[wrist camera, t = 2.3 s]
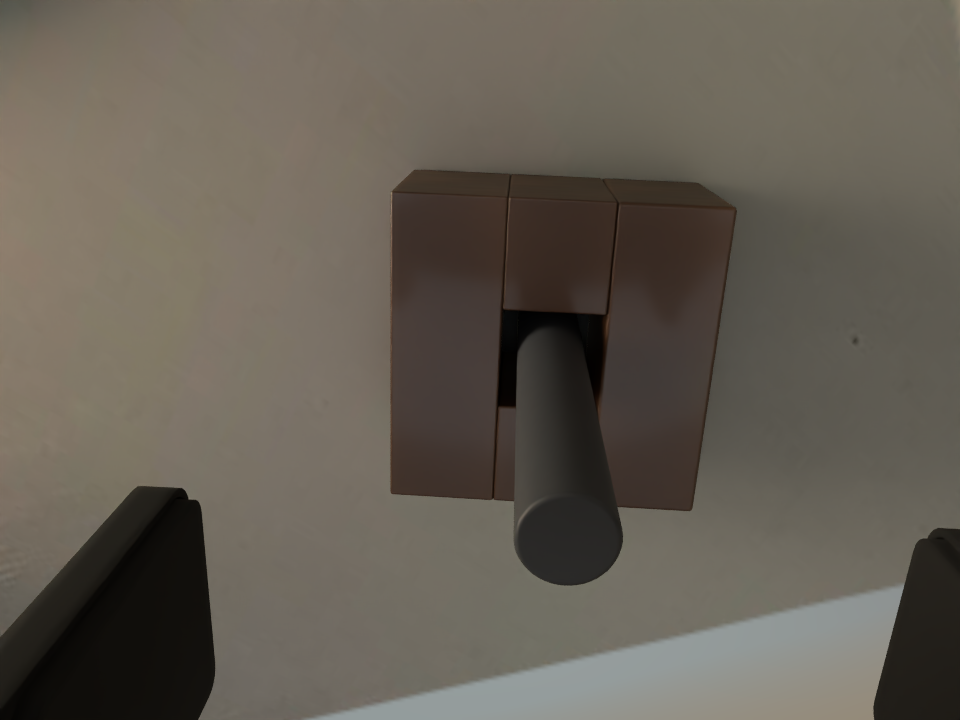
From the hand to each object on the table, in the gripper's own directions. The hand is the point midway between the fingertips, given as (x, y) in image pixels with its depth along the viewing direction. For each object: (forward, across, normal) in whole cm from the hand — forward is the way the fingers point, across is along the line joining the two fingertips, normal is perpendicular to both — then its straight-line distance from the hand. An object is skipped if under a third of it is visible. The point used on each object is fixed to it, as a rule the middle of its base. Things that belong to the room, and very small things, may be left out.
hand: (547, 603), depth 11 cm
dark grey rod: (+13, 0, 0) cm, 13 cm away
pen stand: (+13, 0, 0) cm, 13 cm away
